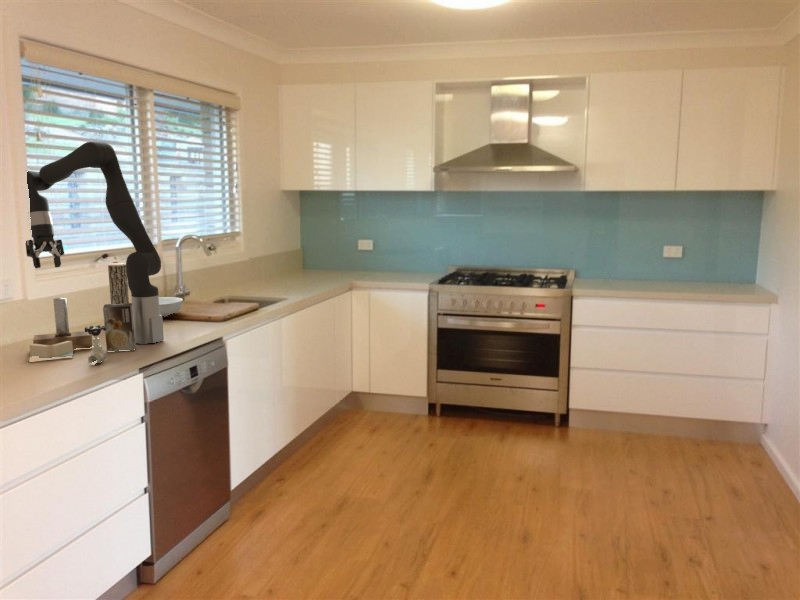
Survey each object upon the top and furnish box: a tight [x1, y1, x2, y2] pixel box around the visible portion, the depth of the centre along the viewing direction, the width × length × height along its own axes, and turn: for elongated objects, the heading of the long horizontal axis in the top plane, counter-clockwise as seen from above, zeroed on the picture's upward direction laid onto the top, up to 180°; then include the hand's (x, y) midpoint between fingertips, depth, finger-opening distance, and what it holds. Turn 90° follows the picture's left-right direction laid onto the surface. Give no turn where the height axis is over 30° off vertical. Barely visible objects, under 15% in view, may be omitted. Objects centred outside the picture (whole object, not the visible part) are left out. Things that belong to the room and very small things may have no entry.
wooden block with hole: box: [32, 330, 93, 349], centre depth 238 cm, size 18×8×5 cm, turn 114°
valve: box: [84, 324, 108, 364], centre depth 219 cm, size 7×7×12 cm
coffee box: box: [102, 302, 137, 352], centre depth 236 cm, size 9×6×16 cm
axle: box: [52, 297, 70, 337], centre depth 237 cm, size 4×4×18 cm
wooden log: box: [107, 262, 130, 304], centre depth 277 cm, size 7×7×25 cm
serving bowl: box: [159, 296, 184, 316], centre depth 296 cm, size 21×21×7 cm
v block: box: [29, 341, 75, 358], centre depth 228 cm, size 10×13×4 cm
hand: (48, 267), depth 255 cm, fingers open, 8 cm apart
